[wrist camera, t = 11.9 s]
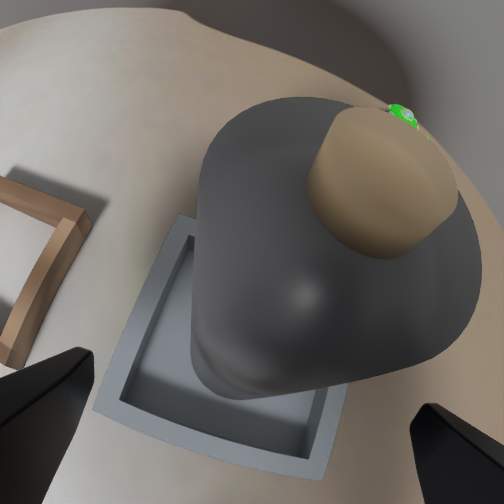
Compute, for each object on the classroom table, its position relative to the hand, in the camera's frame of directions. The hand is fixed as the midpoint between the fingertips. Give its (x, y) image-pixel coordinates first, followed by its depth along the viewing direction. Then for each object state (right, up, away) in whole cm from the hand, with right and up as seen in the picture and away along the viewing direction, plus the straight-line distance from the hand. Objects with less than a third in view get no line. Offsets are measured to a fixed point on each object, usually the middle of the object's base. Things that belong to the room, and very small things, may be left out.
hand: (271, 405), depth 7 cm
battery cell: (-1, -1, +9) cm, 9 cm away
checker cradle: (-17, +3, +9) cm, 19 cm away
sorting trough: (-1, -2, +9) cm, 10 cm away
